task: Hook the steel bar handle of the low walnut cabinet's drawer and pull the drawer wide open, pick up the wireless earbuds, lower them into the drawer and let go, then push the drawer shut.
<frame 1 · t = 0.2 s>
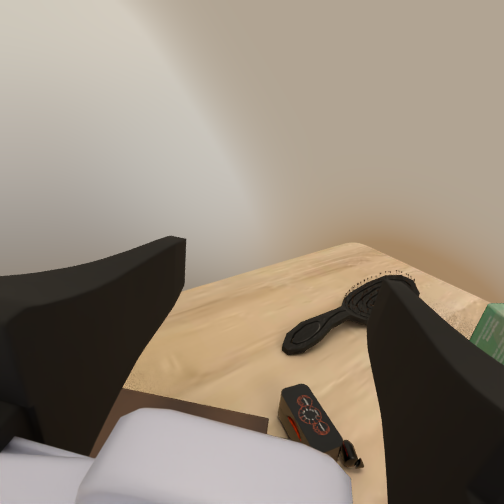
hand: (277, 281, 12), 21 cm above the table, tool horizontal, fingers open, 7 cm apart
hairbrush: (352, 320, 46), on the table
wireless earbuds: (315, 446, 29), on the table
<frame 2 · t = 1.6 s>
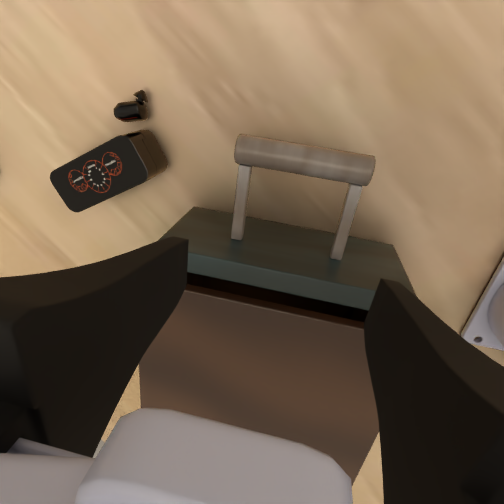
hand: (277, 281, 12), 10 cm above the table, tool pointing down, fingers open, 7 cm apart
cabinet: (269, 327, 26), on the table
drawer: (273, 307, 21), point 4 cm above the table, slide at 0.5 cm
wireless earbuds: (130, 149, 22), on the table
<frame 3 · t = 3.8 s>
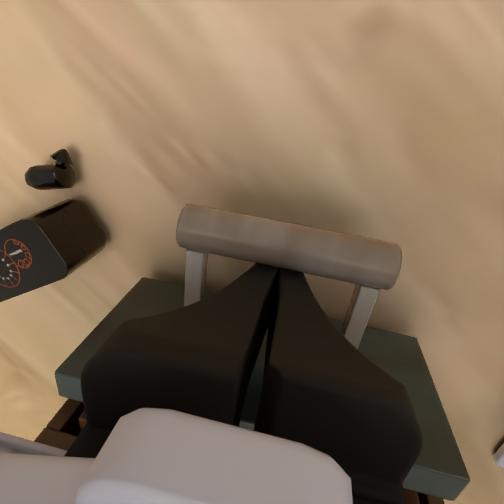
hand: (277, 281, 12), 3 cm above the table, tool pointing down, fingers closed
cabinet: (249, 428, 21), on the table
drawer: (249, 424, 15), point 4 cm above the table, slide at 1.6 cm
wireless earbuds: (59, 218, 17), on the table
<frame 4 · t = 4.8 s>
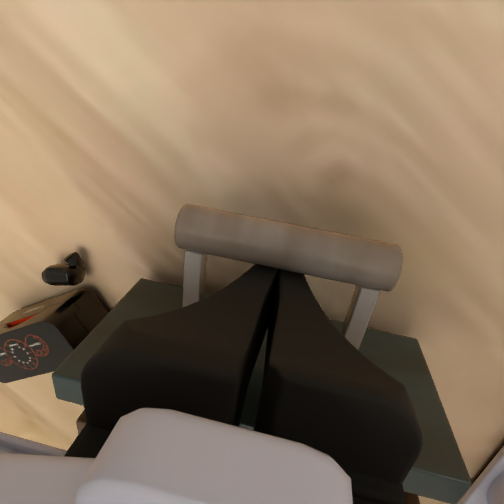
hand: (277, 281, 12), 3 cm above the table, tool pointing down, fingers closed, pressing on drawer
drawer: (248, 425, 15), point 4 cm above the table, slide at 6.5 cm, touching gripper
wireless earbuds: (70, 299, 19), on the table
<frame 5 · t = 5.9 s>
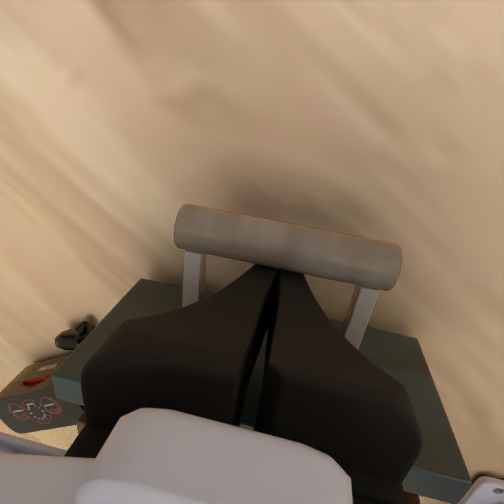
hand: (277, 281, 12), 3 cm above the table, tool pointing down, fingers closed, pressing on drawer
drawer: (248, 426, 15), point 4 cm above the table, slide at 10.9 cm, touching gripper
wireless earbuds: (78, 355, 21), on the table
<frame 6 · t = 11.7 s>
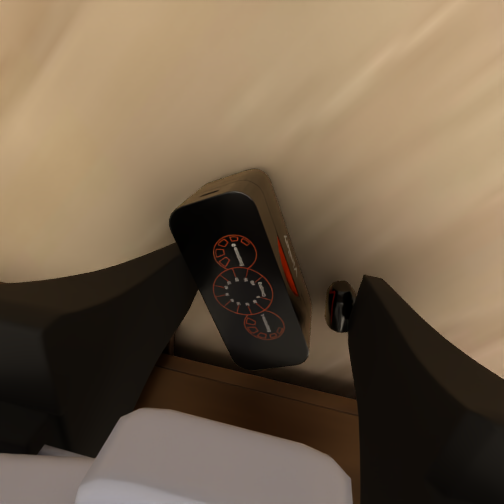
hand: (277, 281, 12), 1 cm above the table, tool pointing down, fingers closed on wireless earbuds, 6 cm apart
wireless earbuds: (284, 257, 13), on the table, touching gripper
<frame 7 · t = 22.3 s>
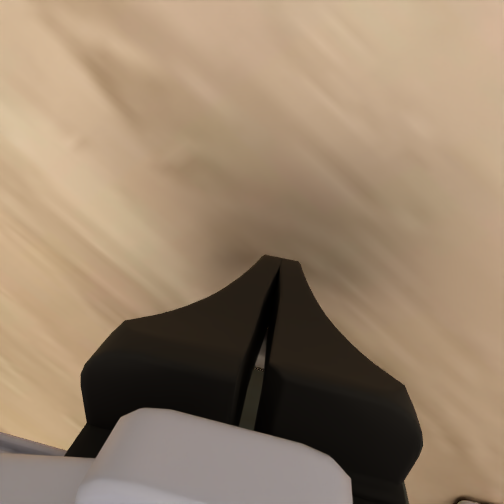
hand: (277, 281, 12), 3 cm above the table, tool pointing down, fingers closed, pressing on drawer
drawer: (238, 478, 17), point 4 cm above the table, slide at 9.3 cm, touching gripper, wireless earbuds
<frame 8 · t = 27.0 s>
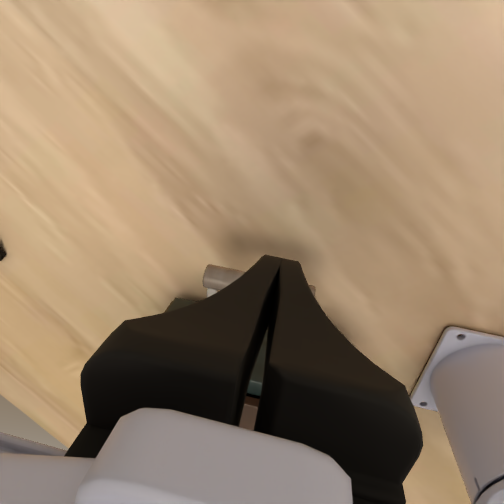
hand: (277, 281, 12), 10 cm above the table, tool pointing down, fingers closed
cabinet: (245, 385, 30), on the table
drawer: (242, 387, 24), point 4 cm above the table, slide at -0.1 cm, touching cabinet, wireless earbuds
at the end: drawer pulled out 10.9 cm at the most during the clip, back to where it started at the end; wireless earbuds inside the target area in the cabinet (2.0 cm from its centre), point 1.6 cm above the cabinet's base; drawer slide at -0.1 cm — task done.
